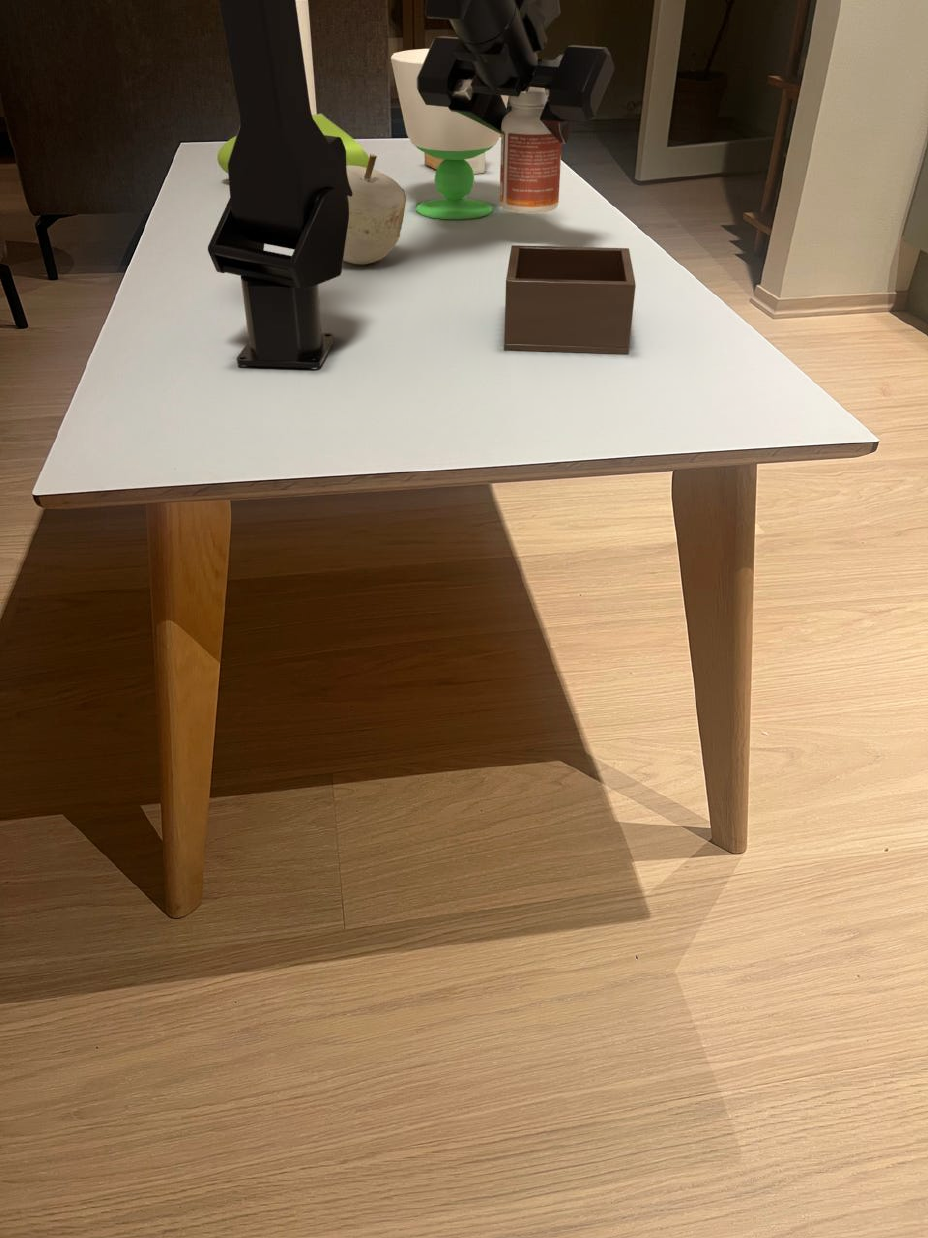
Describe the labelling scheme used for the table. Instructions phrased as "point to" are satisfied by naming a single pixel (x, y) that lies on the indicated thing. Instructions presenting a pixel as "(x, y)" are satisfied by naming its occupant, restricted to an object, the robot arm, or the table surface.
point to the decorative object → (372, 214)
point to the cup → (442, 142)
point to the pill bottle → (529, 157)
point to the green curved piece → (353, 149)
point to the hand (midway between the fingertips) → (538, 136)
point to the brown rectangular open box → (569, 299)
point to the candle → (307, 49)
